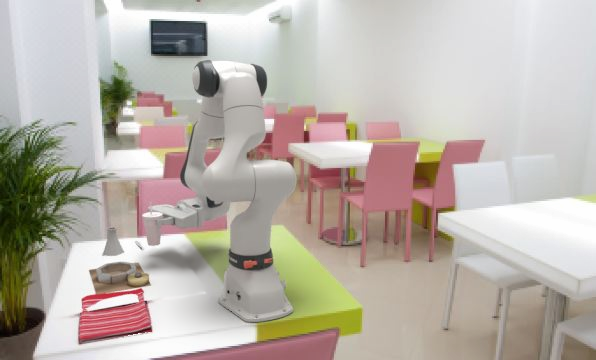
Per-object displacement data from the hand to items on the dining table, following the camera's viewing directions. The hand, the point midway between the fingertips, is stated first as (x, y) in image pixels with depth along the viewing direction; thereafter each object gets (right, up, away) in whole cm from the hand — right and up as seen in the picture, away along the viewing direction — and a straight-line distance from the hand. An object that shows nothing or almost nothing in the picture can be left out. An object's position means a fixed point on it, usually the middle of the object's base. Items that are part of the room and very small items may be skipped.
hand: (150, 220), depth 159 cm
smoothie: (+1, -8, +2) cm, 8 cm away
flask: (-17, -13, +15) cm, 26 cm away
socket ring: (-8, -16, -6) cm, 19 cm away
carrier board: (-8, -18, -6) cm, 20 cm away
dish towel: (-1, -23, -28) cm, 36 cm away
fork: (-10, -12, +23) cm, 28 cm away
